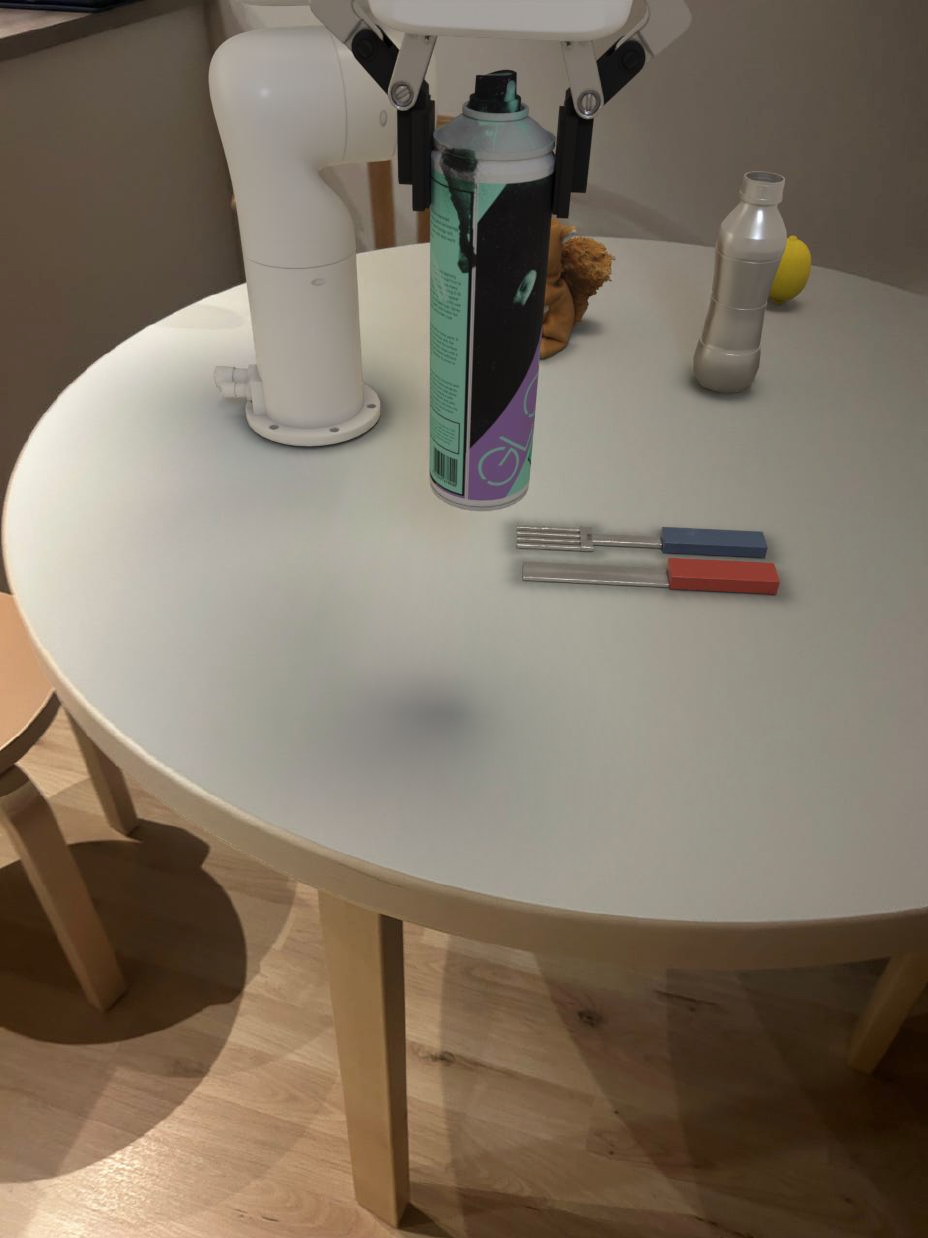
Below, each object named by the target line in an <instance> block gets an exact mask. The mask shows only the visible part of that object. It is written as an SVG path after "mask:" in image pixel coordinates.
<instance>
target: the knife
mask: <svg viewBox="0 0 928 1238" xmlns="http://www.w3.org/2000/svg"><path fill="white" fill-rule="evenodd" d="M522 581H532V582H534V581H535V582H552V583H571V584H572V583H573V584H574V583H575V584H591V585H593V584H594V585H615V586H630V587H631V586H632V587H633V586H634V587H650V588H651V587H653V588H655V587H656V588H669V589H670V590H682V591H683V590H684V591H705V592H706V591H707V592H726V593H745V594H763V595H764V594H766V595H777V593H778V590H779V587H780V585H781V581H780V578H779V574H778V572H777V568H776V566H775V563H774V562H763V561H745V560H744V561H742V560H741V561H740V560H723V559H722V560H721V559H703V558H702V559H701V558H683V557H682V558H681V557H668V559H667V564H666V567H664V568H663V567H646V566H645V567H643V566H625V565H624V566H623V565H603V564H586V563H585V564H584V563H583V564H581V563H562V562H545V561H543V562H541V561H522Z"/></svg>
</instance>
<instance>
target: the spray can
mask: <svg viewBox="0 0 928 1238" xmlns="http://www.w3.org/2000/svg"><path fill="white" fill-rule="evenodd" d="M517 84H518V72H517V71H516V70H512V69H500V70H495V71H492V72H489V73H486V74H476V75H475V81H474V92H473V93H470V95H469V96H468V97H469V100H466V101H465V102H464V103H462V106H461V107H462V108H461V111H462V112H461V113H459V114H457V116H455V117H453V119H451V120H450V121H448V123H446V124H442V125H440V126H439V127H436V129H435V131H434V133H433V142H434V145H435V147H434V148H433V149H432V152H431V204H430V207H429V233H430V234H429V454H428V455H429V471H428V472H429V476H428V477H429V486H430V489H431V491H432V493H433V494H434V495H435V496H436V497H437V499H438V500H440V501H442V502H443V503H445V504H447V505H449V506H451V507H453V508H457V509H460V510H465V511H471V512H494V511H499V510H504V509H506V508H510V507H511V506H514V505H516V504H517V503H519V502H521V500H523V498H524V497H526V496H527V493H528V491H529V486H530V480H531V479H530V478H531V470H532V469H531V468H532V455H533V444H534V443H533V442H534V432H535V420H536V411H537V410H536V408H537V398H538V397H537V395H538V387H539V386H538V385H539V374H540V373H539V372H540V362H541V361H540V360H541V358H540V350H541V338H542V326H543V314H544V302H545V290H546V278H547V266H548V254H549V242H550V230H551V218H553V215H552V205H553V193H554V181H555V169H556V155H555V152H554V149H556V140H557V136H555V134H554V133H553V132H552V131H551V130H550V129H547V128H545V127H543V126H542V125H541V124H540V123H539V122H537V121H536V120H535V119H534V118H532V117H531V116H530V115H529V113H530V106H529V105H528V104H526V103H525V102H523V101H522V97H521V96H520V95H519V94H518V93H517V92H518V91H517V89H518V88H517V87H518V85H517Z"/></svg>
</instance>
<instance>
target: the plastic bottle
mask: <svg viewBox="0 0 928 1238" xmlns="http://www.w3.org/2000/svg"><path fill="white" fill-rule="evenodd" d="M785 184H786V178H785V177H784V176H783V175H780V174H778V173H775V172H771V171H761V170H760V171H759V170H757V171H756V170H755V171H748V172H746V173H744V175H743V177H742V183H741V187H740V189H739V191H738V198H739V199H740V201H739V203H738V204H737V205H736V206H735V207H734V208H733V209H732V210H731V211H730V212H729V213H728V214H727V216H725V218H724V219H723V220H722V221H721V223H720V224H719V227H718V229H717V232H716V235H715V244H714V245H715V247H714V249H715V250H714V266H713V267H714V268H713V279H712V284H711V294H710V300H709V305H708V309H707V312H706V313H707V314H706V317H705V321H704V325H703V328H702V332H701V335H700V336H699V338H698V342H697V344H696V347H695V351H694V354H693V357H692V358H693V359H692V361H693V364H692V367H693V368H692V372H693V375H694V376H695V379H696V381H697V382H698V384H700V385H701V386H702V387H704V388H706V389H708V390H711V391H714V392H719V393H738V392H739V393H740V392H742V391H745V390H746V389H747V388H749V386H750V385H752V383H753V382H754V381H755V378H756V376H757V374H758V372H759V369H760V364H761V354H762V353H761V342H762V335H763V327H764V319H765V313H766V309H767V305H768V299H770V298H769V295H770V291H771V287H772V284H773V281H774V278H775V275H776V273H777V270H778V267H779V265H780V262H781V259H782V256H783V254H784V251H785V248H786V244H787V238H788V236H787V235H788V234H787V228H786V225H785V222H784V219H783V217H782V214H781V213H780V211H779V208H778V204H780V203H782V201H783V197H784V194H783V193H784V188H785Z"/></svg>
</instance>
